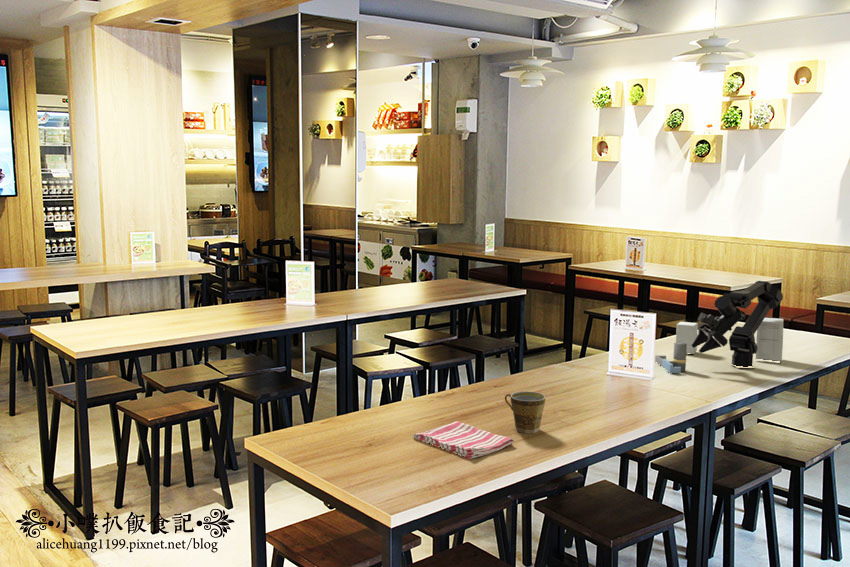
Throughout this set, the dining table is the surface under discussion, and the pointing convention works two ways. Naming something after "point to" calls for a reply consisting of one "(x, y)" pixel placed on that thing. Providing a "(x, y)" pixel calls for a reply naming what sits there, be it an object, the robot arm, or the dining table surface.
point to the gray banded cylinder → (680, 355)
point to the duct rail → (667, 364)
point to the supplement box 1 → (687, 335)
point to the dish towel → (464, 440)
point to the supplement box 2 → (770, 339)
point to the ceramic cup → (527, 410)
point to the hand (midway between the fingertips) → (695, 349)
